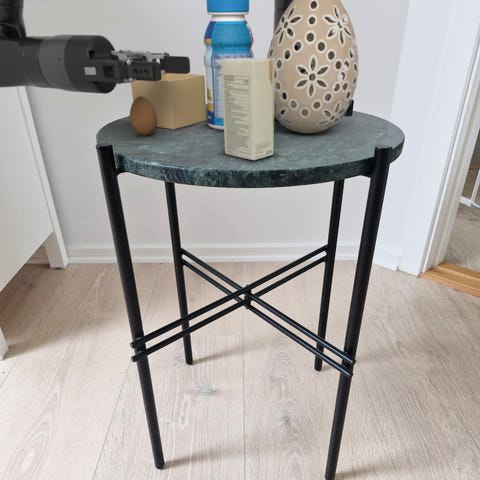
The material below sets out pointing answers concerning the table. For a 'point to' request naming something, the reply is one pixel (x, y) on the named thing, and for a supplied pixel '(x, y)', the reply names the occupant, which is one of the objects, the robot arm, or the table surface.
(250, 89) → the cosmetic box
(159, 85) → the open box
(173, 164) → the table surface
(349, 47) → the ornament
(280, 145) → the table surface
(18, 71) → the robot arm
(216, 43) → the beverage bottle
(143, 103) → the egg
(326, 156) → the table surface
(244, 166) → the table surface
